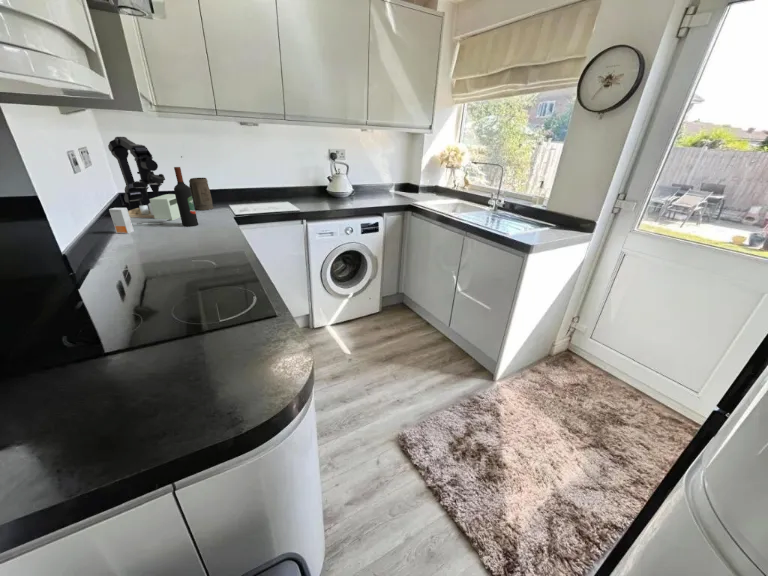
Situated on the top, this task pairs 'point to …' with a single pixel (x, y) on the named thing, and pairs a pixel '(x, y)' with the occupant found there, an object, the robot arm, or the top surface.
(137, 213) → the tray
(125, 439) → the top surface
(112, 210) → the skincare box
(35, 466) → the top surface
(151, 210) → the white box
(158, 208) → the pale green box
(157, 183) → the robot arm
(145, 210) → the white rounded cylinder
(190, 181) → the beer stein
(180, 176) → the wine bottle
